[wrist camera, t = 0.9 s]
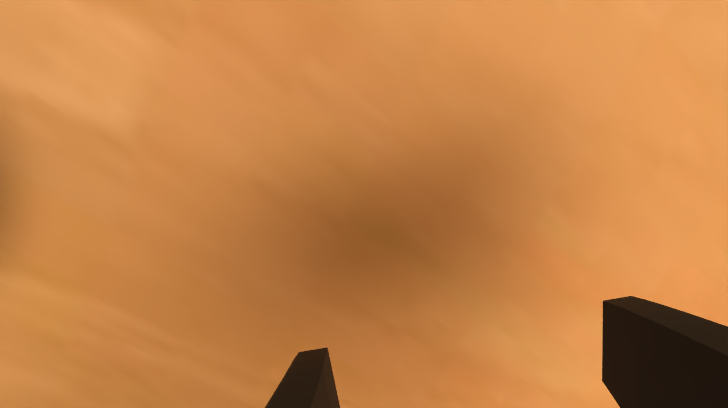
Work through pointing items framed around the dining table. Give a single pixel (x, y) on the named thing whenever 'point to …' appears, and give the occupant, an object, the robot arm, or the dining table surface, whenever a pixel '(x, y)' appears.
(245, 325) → the dining table surface
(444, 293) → the dining table surface
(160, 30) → the dining table surface
